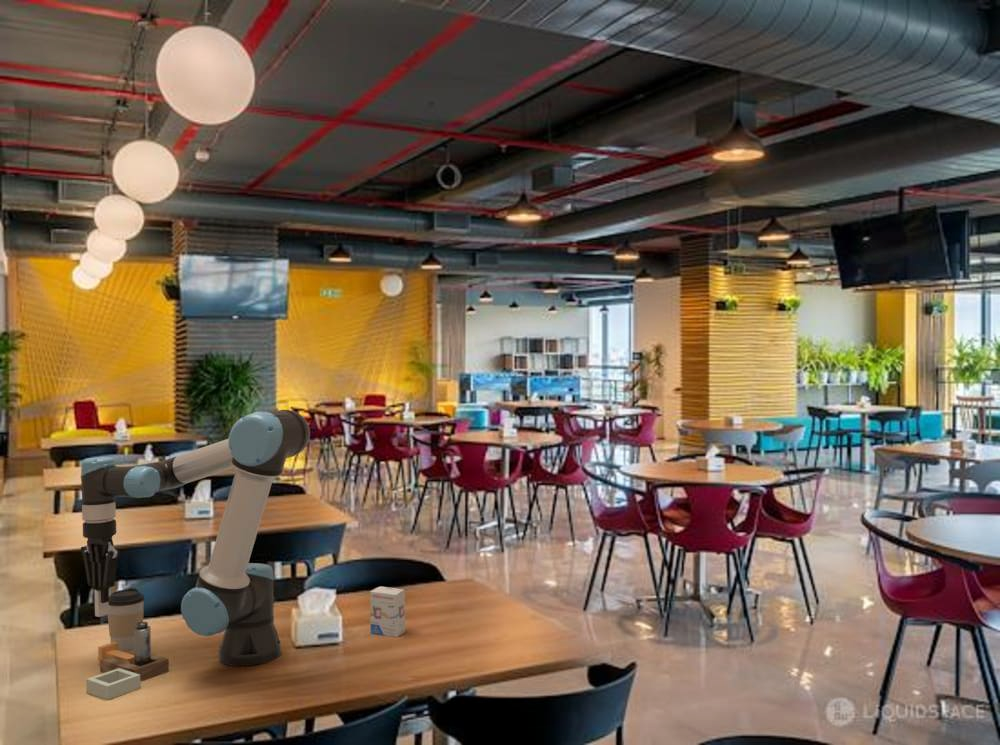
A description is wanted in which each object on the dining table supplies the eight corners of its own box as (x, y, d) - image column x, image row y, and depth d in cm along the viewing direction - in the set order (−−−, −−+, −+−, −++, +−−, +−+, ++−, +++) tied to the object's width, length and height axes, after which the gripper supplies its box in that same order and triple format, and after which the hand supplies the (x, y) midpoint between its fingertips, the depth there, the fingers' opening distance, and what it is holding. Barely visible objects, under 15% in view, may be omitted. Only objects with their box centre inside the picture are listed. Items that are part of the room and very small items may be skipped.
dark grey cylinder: (154, 673, 200) (153, 622, 200) (140, 678, 197) (140, 626, 197) (144, 670, 202) (144, 619, 202) (131, 675, 199) (130, 623, 199)
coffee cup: (130, 656, 212) (129, 597, 211) (98, 654, 213) (98, 595, 213) (152, 644, 221) (151, 587, 220) (121, 642, 222) (121, 585, 222)
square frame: (140, 687, 191) (140, 674, 191) (107, 699, 184) (107, 686, 184) (119, 680, 195) (119, 668, 195) (86, 692, 188) (86, 679, 188)
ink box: (369, 633, 228) (368, 590, 228) (378, 628, 233) (378, 585, 233) (396, 637, 225) (396, 593, 225) (405, 631, 230) (405, 588, 229)
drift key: (140, 667, 203) (140, 649, 203) (124, 673, 200) (124, 654, 200) (114, 659, 209) (114, 641, 209) (98, 664, 205) (98, 646, 205)
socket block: (168, 671, 201) (168, 658, 201) (134, 683, 194) (134, 670, 194) (134, 660, 208) (134, 648, 208) (100, 672, 201) (100, 659, 201)
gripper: (129, 519, 207) (131, 614, 208) (98, 515, 214) (100, 607, 215) (100, 524, 201) (103, 622, 201) (69, 520, 208) (72, 615, 208)
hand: (102, 615), depth 208 cm, fingers closed
